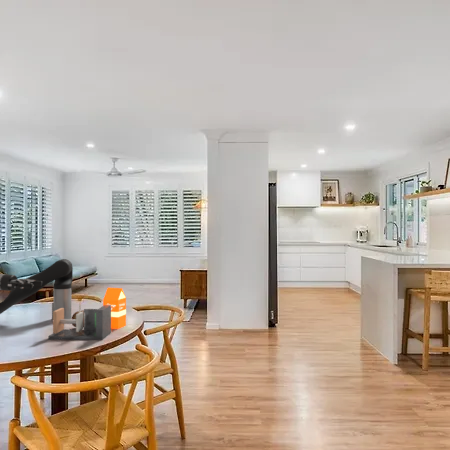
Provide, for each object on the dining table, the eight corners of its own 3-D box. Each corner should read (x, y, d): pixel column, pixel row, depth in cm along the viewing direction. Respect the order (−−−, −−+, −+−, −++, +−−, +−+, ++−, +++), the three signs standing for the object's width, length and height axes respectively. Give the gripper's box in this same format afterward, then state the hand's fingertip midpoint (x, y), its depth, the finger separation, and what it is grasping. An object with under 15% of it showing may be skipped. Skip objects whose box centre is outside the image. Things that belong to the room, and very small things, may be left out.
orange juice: (117, 329, 197) (118, 289, 197) (102, 327, 199) (102, 288, 199) (126, 325, 204) (126, 287, 204) (111, 324, 207) (111, 286, 207)
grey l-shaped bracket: (48, 339, 178) (48, 309, 179) (60, 332, 190) (60, 304, 191) (102, 340, 178) (102, 310, 178) (111, 332, 190) (111, 305, 190)
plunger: (53, 333, 179) (53, 311, 180) (60, 328, 187) (60, 308, 188) (74, 333, 179) (74, 311, 179) (81, 329, 187) (81, 308, 187)
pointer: (76, 331, 180) (76, 303, 180) (81, 328, 186) (81, 301, 186) (78, 331, 180) (78, 303, 180) (83, 328, 186) (83, 301, 186)
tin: (74, 329, 196) (74, 312, 196) (70, 328, 198) (70, 312, 198) (98, 323, 209) (98, 307, 209) (94, 322, 210) (94, 307, 211)
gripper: (12, 288, 192) (44, 290, 191) (-7, 292, 178) (28, 295, 177) (13, 272, 192) (45, 275, 191) (-6, 275, 178) (29, 278, 177)
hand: (37, 284), depth 184 cm, fingers open, 8 cm apart
